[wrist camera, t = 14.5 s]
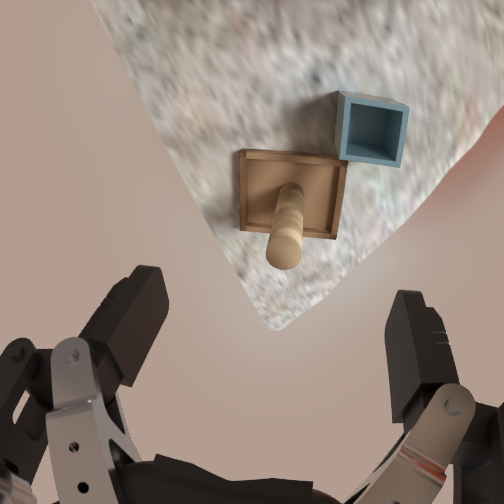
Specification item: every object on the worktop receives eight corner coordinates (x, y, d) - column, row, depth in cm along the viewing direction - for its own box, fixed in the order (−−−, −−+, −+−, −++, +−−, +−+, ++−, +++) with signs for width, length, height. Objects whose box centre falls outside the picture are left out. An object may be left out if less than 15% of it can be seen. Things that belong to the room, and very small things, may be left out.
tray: (346, 157, 37) (348, 161, 36) (335, 233, 43) (336, 239, 42) (242, 148, 39) (239, 152, 37) (242, 224, 45) (240, 230, 43)
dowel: (305, 184, 39) (302, 242, 28) (303, 206, 41) (299, 271, 30) (280, 181, 40) (266, 238, 28) (278, 204, 41) (265, 267, 30)
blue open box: (391, 98, 32) (409, 107, 26) (385, 149, 35) (399, 168, 30) (338, 90, 33) (345, 96, 27) (333, 142, 36) (339, 159, 31)
